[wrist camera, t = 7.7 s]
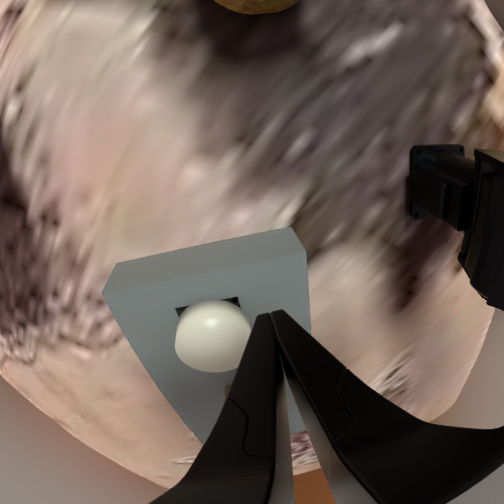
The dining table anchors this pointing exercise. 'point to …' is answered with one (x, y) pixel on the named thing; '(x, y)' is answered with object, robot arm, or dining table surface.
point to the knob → (212, 335)
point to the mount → (199, 289)
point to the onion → (257, 5)
